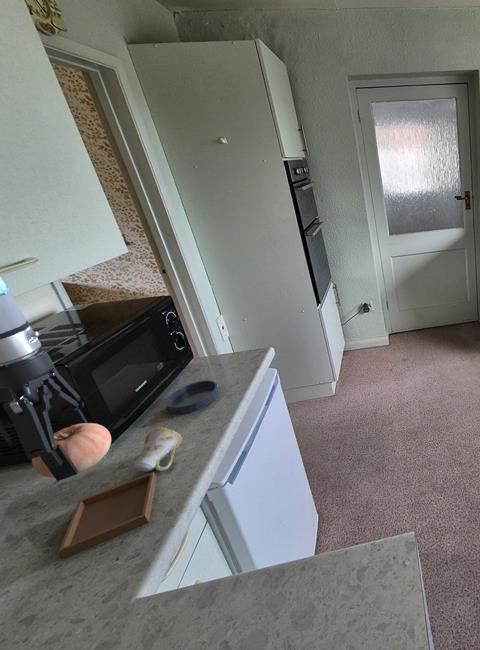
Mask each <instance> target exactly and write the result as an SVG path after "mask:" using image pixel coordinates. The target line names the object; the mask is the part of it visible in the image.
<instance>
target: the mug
mask: <svg viewBox="0 0 480 650" xmlns="http://www.w3.org/2000/svg"><path fill="white" fill-rule="evenodd" d="M182 442H183V436H182V435H181V434H180V433H179V432H176V431H175V430H172V429H169V428H166V427H154V428H153V429H151V430H150V431H149V433H148V434H147V435H146V438H145V440H144V444H143V448H142V451H141V453H140V456H139V457H138V458H137V459H136V461H135V462H134V463H135V464H134V465H135V468H136V469H137V471H139V472H144V473H148V472H151V471H153V470H154V469H156V471H157V472H164V471H166V470H168V469H169V468H170V467H171V465H172V464H173V462H174V458H175V457H174V456H175V453H176V451H177V449H178V448H179V446H180V445H181V443H182ZM168 456H169V462H168V463H167V464H166V465H164V466H160V465H161V461H162V460H164V459H165V458H167V457H168Z"/></svg>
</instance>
